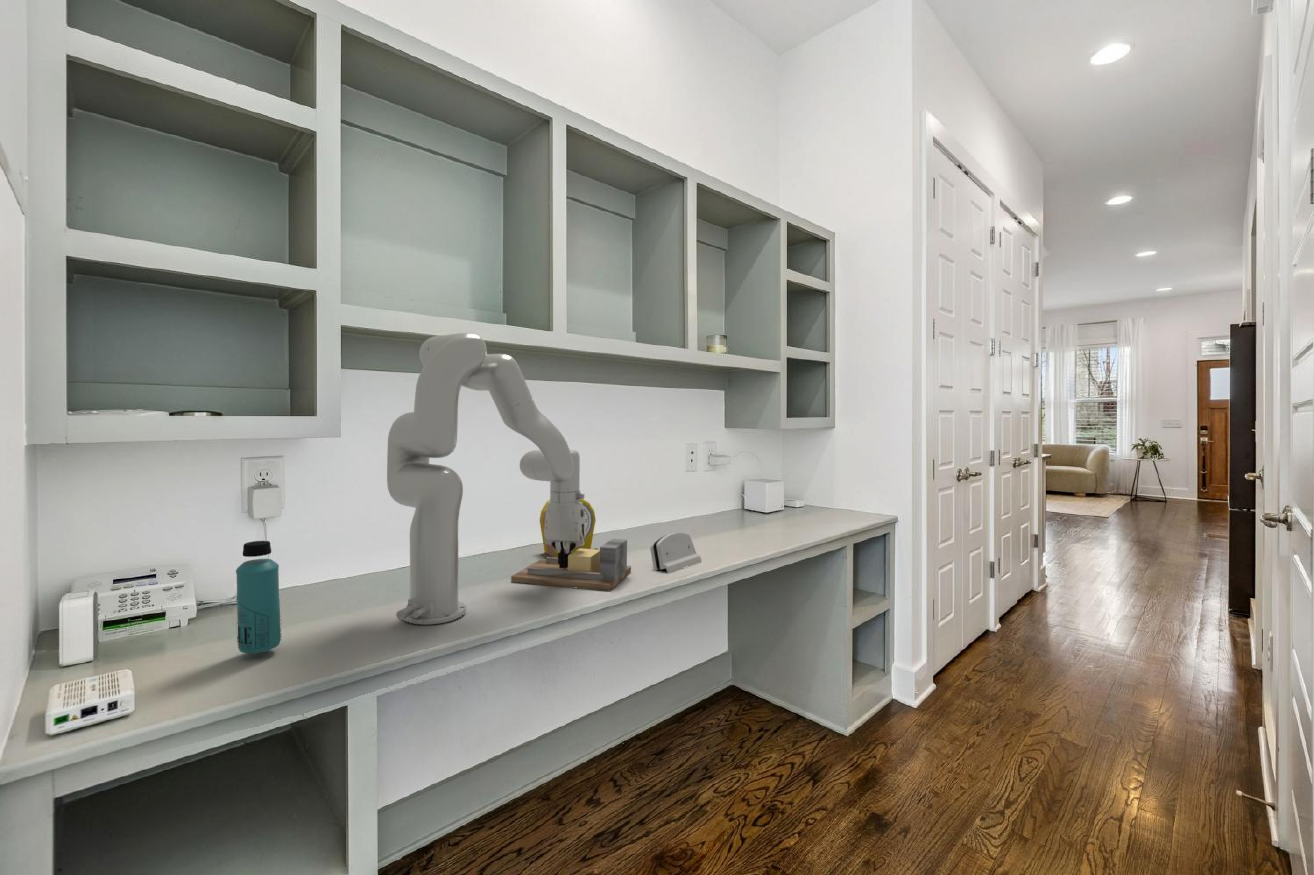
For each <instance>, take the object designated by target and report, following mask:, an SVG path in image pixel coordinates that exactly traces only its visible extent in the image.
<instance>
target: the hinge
mask: <svg viewBox="0 0 1314 875" xmlns="http://www.w3.org/2000/svg"><path fill="white" fill-rule="evenodd" d="M649 549H650V555H651V561H652V566H653V567H652V568H653V571H658V570H664V569H665V570H666V574H671V573H675V572H677V571H680V570H683V569H685V568H684V567H686V566H689V567H691V565H692V566H693V565H697V564H699V562H700V563H702V562H701V561H702V556H701V555H699V554H698V553H697V551H696V549H695V546H694V543H693V540H692V537H691V535H690V534H687V533H683V532H673V533H669V534H665V535H663V536H661V537H659V538H658V539H656V540H654V542H652V543H651V544H650V547H649ZM696 563H697V564H696ZM682 568H683V569H682ZM686 568H687V567H686Z"/></svg>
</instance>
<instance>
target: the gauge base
mask: <svg viewBox="0 0 1314 875" xmlns="http://www.w3.org/2000/svg"><path fill="white" fill-rule="evenodd" d="M599 550H600V570H599V571H597V572H596V573H592V572H580V571H569V570H568V567H567V568H566V569H563V568H559V564H558V558H554V557H552V556H546V557H545V558H541V559H539V560H538V561H535V562H534V563H532V564H530V565H528V566H527V567H525V568H523V569H521V570H520V571H518V572H516V573H514V574H513V575H511V576H510V581H511V583H515V582H520V583H519V584H526V583H530V584H529V585H537V584H539V586H548V585H550V587H559V586H560V587H561V588H570V587H577V588H576V589H581V588H585V589H584V590H592V589H597V590H596V591H603V590H605V591H604V592H611V591H612V590H613V589H614V588H615V587H616V586H617V585H618V584H619V583H620V582H621V581H623V579H625V578H626V577H627V576H628V575H629V574H630V573H632V566H631V565H628V564H627V562H628V539H619V538H612V539H610V540H609V541H607V542H606V543H604V544H602V545H601V546H600V547H599ZM613 587H614V588H613ZM612 588H613V589H612ZM611 589H612V590H611Z"/></svg>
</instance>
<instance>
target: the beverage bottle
mask: <svg viewBox="0 0 1314 875" xmlns="http://www.w3.org/2000/svg"><path fill="white" fill-rule="evenodd" d="M242 546H243V547H242V548H243V549H242V556H243V557H245V558H246V557H248V558H252V557H254V558H255V557H262V556H267V555H271V554H272V547H271V542H270V541H268V540H253V541H249V542H245V543H244V544H243V545H242ZM279 567H280V565H279V563H277V562H276V561H274V560H272V559H271V558H255V559H250V560H245V561H244V562H243V563H241V564H240V565H239V566H238V567H237V568H236V569H235V574H236V596H235V597H236V607H237V612H236V615H237V617H236V618H237V623H236V625H237V637H236V644H237V648H238V651H239V652H240V653H242V654H257V653H263V652H267V651H270V650H273V649H275V648H277V647H278V646H279V645H280V644H281V641H282V629H281V626H282V624H281V623H282V622H281V619H282V617H281V616H282V615H281V605H280V604H281V601H280V581H279V576H280V575H279V574H280V573H279V569H280V568H279Z"/></svg>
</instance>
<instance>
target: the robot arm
mask: <svg viewBox="0 0 1314 875" xmlns="http://www.w3.org/2000/svg"><path fill="white" fill-rule="evenodd" d="M487 353H488V352H487V344H486V341H485V340H484V339H483V338H482V337H481V336H479V335H477V334H475V333H469V332H460V333H452V334H444V335H436V336H432V337H430V338H428V339H426V340H425V341H423V343H422V344H421V345H420V349H419V359H420V361H421V362H420V363H421V364H422V365H423V368H421V369H422V370H421V371H420V373H419V375H418V378H417V380H416V386H415V395H414V405H413V411H411V412H406V413H403V414H401V415H400V416H398V417H397V418H395V420H394V421H393V423H392V424H391V425H390V426H391V427H390V429H389V432H388V436H387V453H386V455H387V456H386V457H387V459H386V461H387V463H386V483H387V485H386V486H387V489H388V493H389V495H390V497H391V499H393V501H394V502H396V503H397V504H399V505H401V506H404V507H410V508H415V509H414V513H413V516H412V519H411V523H410V526H409V590H410V591H409V598H407V605H406V606H405V607H403V608H402V609H399V610H397V612H396V618H397V619H398V620H399V621H402V620H403V621H404V622H406V623H408V622H409V623H408V624H412V623H413V624H412V625H419V624H420V625H421V626H423V625H424V626H425V625H426V626H428V625H438V624H444V623H448V622H451V621H456V620H457V618H458V619H460V618H461V617H463V616H464V615H465V614H466V613H467V606H466V604H465V603H464V602H461V601H459V518H460V511H461V510H460V509H461V506H462V505H461V504H462V499H463V496H464V495H463V494H464V485H463V482H462V478H461V477H460V475H459V474H458V473H457V472H456V471H455V470H453V469H452V468H450V467H448V466H445V465H443V464H433V463H430V459H442V458H445V457H449V456H450V455H451V454H452V453H453V452H454V450H455V449H456V447H457V442H458V425H459V424H458V419H459V399H460V398H459V397H460V391H461V389H462V388H461V387H464V388H467V389H469V390H474V391H484V392H485V391H488V393H489V394H490V397H491V399H492V400H493V403H494V404H495V407H496V409H497V412H498V413H499V416H500V417H501V420H502V422H503V423H504V424H505V426H506V427H508V428H509V429H511V430H512V431H514V432H515V433H517V434H518V435H521V436H523V437H524V438H526V439H528V440H530V441H531V442H532V443H533V444H534V445H535V446H536V447H537V448H538V449H536V450H535V449H534V450H530V451H528V452H526V453H524V454H523V455H522V457H521V459H520V461H519V469H520V472H521V474H522V475H523V476H524V477H526V478H527V479H529V480H534V481H540V482H541V481H542V482H549V483H550V484H549V486H550V490H549V491H550V492H549V495H550V496H549V500H550V502H548V501H547V502H548V505H547V510H546V516H545V527H544V535H545V543H546V544H549V545H552V546H553V547H554V548H555V549H556V552H557V553H558V564H559V568H563V569H566V568H567V567H568V555H570V554H571V551H572V550H573V549H574V548H575V547H580V546H583V545H584V544H585V542H584V538H585V536H586V524H585V514H584V507H583V503H582V502H579V501H580V499H584V500H585V493H581V490H580V472H581V471H580V470H581V468H580V464H581V463H580V462H581V460H580V459H581V458H580V453H579V451H577V450H576V449H575V450H574V449H573V450H572V449H570V447H569V445H568V442H567V441H566V438H565V437H564V436H563V434H562V432H561V431H560V430H559V429H558V428H557V427H556V426H555V424H554V423H553V422H551V420H549V418H548V417H546V416H545V414H543V413H542V412H541V411H540V410H539V409H538V407H537V405H536V403H535V401H534V398H533V395H532V393H531V391H530V389H529V387H528V384H527V382H526V378H525V377H524V375H523V373H522V370H521V368H520V366H519V363H518V362H517V361H516V360H515V359H514V357H513V356H511V355H508V354H505V353H491V354H490V353H489V354H487ZM564 542H566V545H565V549H564ZM462 615H463V616H462ZM459 617H460V618H459ZM420 625H419V626H420Z"/></svg>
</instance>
